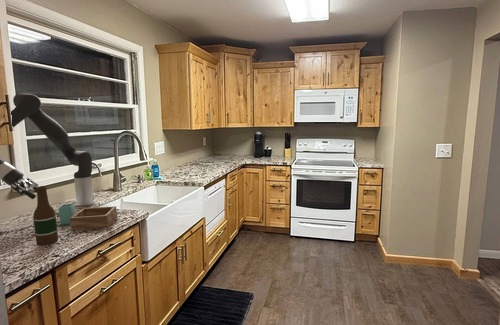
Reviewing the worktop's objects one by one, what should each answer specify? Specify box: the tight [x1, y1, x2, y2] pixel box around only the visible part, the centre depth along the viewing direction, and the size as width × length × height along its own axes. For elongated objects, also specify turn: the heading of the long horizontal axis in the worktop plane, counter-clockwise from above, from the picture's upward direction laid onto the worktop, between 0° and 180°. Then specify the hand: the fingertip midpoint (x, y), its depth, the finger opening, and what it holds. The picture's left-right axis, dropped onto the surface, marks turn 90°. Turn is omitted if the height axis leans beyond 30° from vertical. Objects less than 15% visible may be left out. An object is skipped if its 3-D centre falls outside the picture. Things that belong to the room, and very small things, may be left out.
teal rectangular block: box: [58, 203, 77, 226], centre depth 146 cm, size 6×6×9 cm
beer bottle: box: [32, 185, 59, 247], centre depth 121 cm, size 8×8×24 cm
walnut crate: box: [70, 205, 118, 231], centre depth 145 cm, size 16×16×6 cm
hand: (38, 195), depth 141 cm, fingers open, 8 cm apart
